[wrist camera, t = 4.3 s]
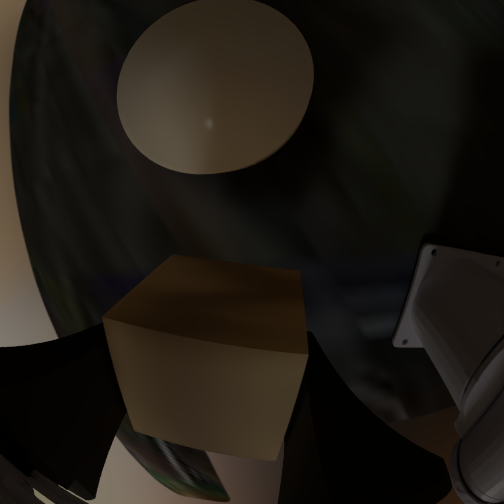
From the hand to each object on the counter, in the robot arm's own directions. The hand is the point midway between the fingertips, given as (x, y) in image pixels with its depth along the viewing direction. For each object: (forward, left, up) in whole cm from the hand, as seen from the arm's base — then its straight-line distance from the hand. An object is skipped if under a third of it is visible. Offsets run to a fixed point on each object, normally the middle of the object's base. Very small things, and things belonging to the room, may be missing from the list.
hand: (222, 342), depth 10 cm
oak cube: (0, 0, -2) cm, 2 cm away
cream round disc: (+3, -11, -9) cm, 14 cm away
